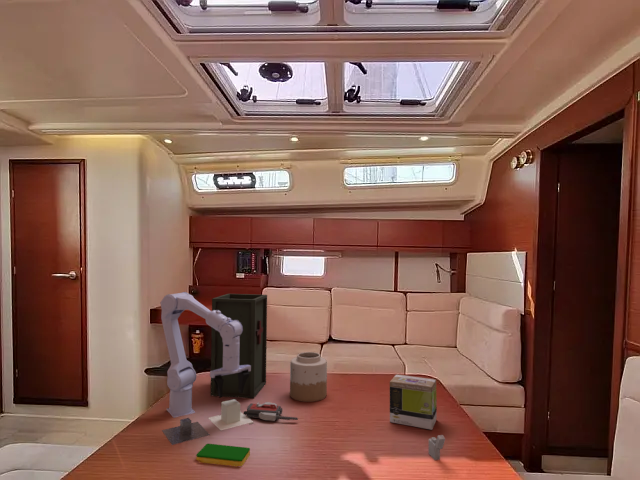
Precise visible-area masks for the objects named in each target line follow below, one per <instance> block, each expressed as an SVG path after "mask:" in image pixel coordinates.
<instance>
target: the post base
mask: <svg viewBox="0 0 640 480" xmlns="http://www.w3.org/2000/svg"><path fill="white" fill-rule="evenodd" d="M179 421H180V422H179V423H180V424H179V426H175V427H174V426H173V427H169V428H166V429H162V430H161V432H162V433H163V434H164V436H165V437H166V438H167V440H168V442H170V444H171V446H174V445H177V444H181V443H185V442H189V441H192V440H196V439H200V438H204V437H207V436H211V434H210V433H209V432H208V431H207V430H206V429H205V428H204V427H203V426H202V425H201V423H199V422H198V421H195V422H192V420H191V419H190V417H187V418H182V419H180V420H179Z"/></svg>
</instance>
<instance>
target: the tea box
mask: <svg viewBox="0 0 640 480" xmlns="http://www.w3.org/2000/svg"><path fill="white" fill-rule="evenodd" d="M437 407H438V406H437V379H435V378H429V377H428V378H427V377H421V376H412V375H404V374H395V375H394V376H393V378H392V379H391V380H390V381H389V422H390V423H393V424H399V425H404V426H409V427H416V428H419V429H420V428H421V429H426V430H432V431H433V430H434V429H433V428H434V426H435V424H436V421H437V419H438V418H437V414H438V413H437V411H438V410H437V409H438V408H437Z"/></svg>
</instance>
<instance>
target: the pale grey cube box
mask: <svg viewBox="0 0 640 480" xmlns="http://www.w3.org/2000/svg"><path fill="white" fill-rule="evenodd" d="M220 403H221V406H220V407H221V408H220V409H221V410H220V415H221V420H222V421H224V422H225V423H226V424H230V423H234V422H238V421H240V411H241V402H239V401H237V399H234V398H233V399H230V400H225V401H222V402H220Z"/></svg>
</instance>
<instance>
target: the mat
mask: <svg viewBox="0 0 640 480" xmlns="http://www.w3.org/2000/svg"><path fill="white" fill-rule="evenodd" d="M243 413H244V412H242V411H241V410H240V421H238V422H234V423H230V424H226V423H225V422H224V421H222V420H221V414H220V415H219V414H218V415H214V416H210V417H208V420H209V421H210V422H211V423H212V424H213V425H214V426H215V427H216V428H217V429H218V430H219V431H221V432H222V431H224V430H229V429H231V428H237V427H240V426H244V425H252V424H254V423H255V422H254V421H253V420H252V419H251V418H250V417H248V416H247V415H245V414H243Z"/></svg>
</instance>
